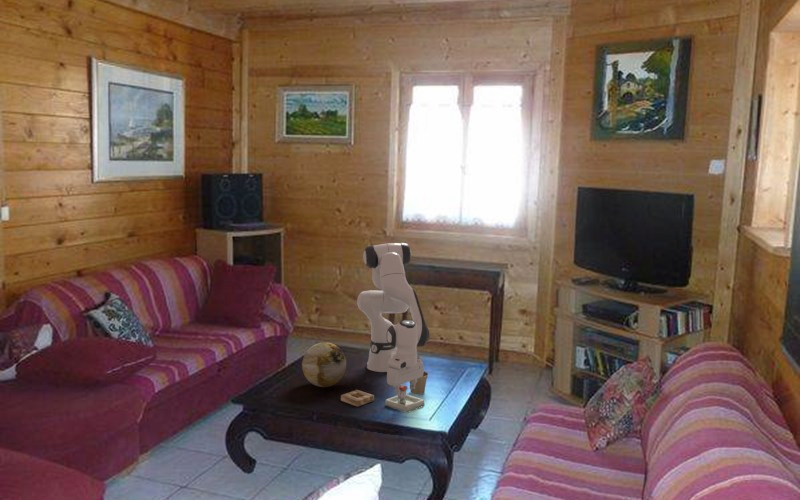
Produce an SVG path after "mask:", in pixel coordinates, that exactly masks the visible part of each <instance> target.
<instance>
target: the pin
mask: <svg viewBox="0 0 800 500" xmlns="http://www.w3.org/2000/svg"><path fill="white" fill-rule="evenodd" d="M399 389H400V390H401V394H399V395H398V403H400V404H403V405H406V394H407V390H408V386H407V385H404V384H400V387H399Z"/></svg>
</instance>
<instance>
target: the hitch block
mask: <svg viewBox="0 0 800 500" xmlns="http://www.w3.org/2000/svg"><path fill="white" fill-rule="evenodd" d="M340 401H341V402H344V403H346V404H350V405H352V406H355V407H361V406H363V405H366V404H369V403H372V402H375V395H374V394H373V393H372V394H371V393H368V392H365V391H362V390H358V389H355V390H352V391H350V392H347V393H343V394H340Z"/></svg>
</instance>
